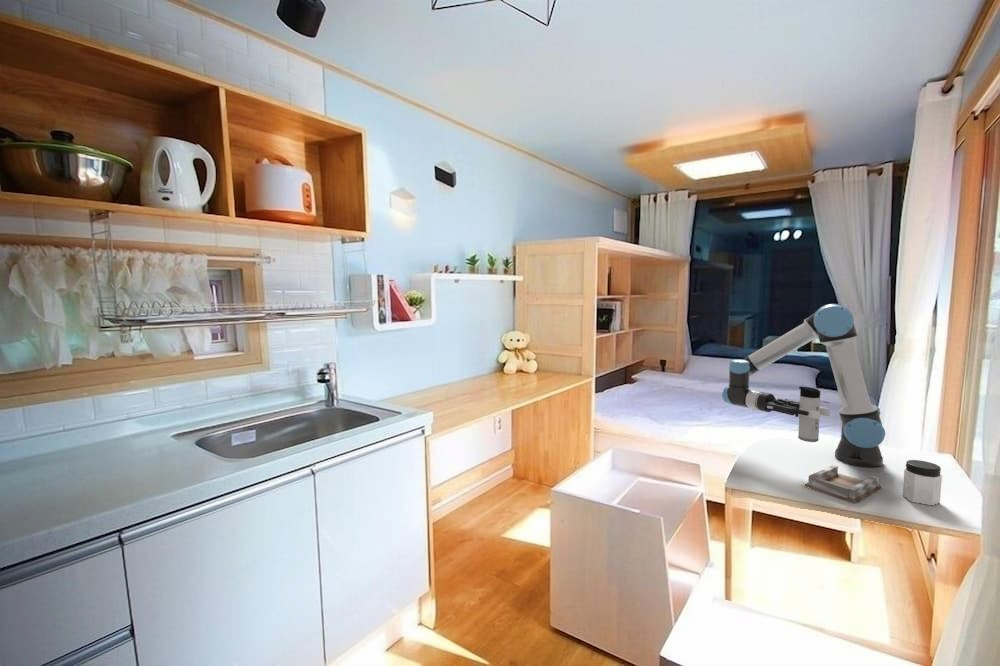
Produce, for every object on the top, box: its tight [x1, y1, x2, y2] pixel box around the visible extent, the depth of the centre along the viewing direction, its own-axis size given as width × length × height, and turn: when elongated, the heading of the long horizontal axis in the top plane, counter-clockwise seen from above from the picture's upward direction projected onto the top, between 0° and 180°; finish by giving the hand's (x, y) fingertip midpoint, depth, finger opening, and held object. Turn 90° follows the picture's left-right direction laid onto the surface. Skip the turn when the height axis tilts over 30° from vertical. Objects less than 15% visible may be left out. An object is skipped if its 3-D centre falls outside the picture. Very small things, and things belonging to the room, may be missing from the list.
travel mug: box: [797, 386, 821, 443], centre depth 167 cm, size 6×7×20 cm
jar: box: [902, 459, 943, 506], centre depth 146 cm, size 9×8×12 cm
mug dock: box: [804, 464, 883, 504], centre depth 156 cm, size 20×15×4 cm
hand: (824, 413), depth 163 cm, fingers closed on travel mug, 6 cm apart
